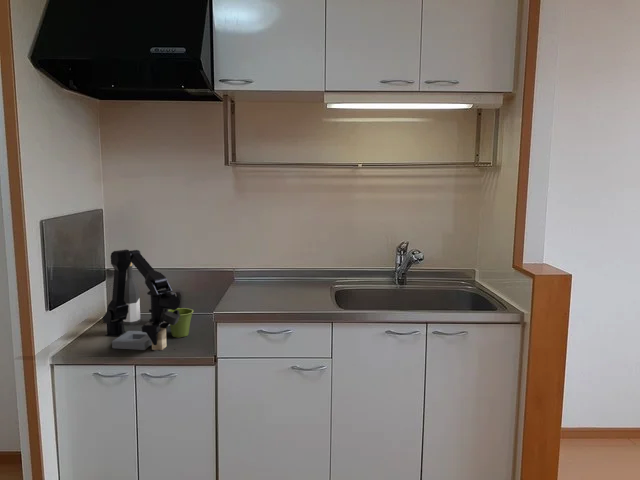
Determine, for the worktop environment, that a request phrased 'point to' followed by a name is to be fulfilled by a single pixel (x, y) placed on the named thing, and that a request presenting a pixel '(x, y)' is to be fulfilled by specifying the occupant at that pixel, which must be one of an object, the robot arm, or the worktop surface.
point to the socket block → (132, 341)
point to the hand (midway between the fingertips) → (159, 342)
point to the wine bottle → (132, 299)
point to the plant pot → (182, 323)
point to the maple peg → (160, 340)
